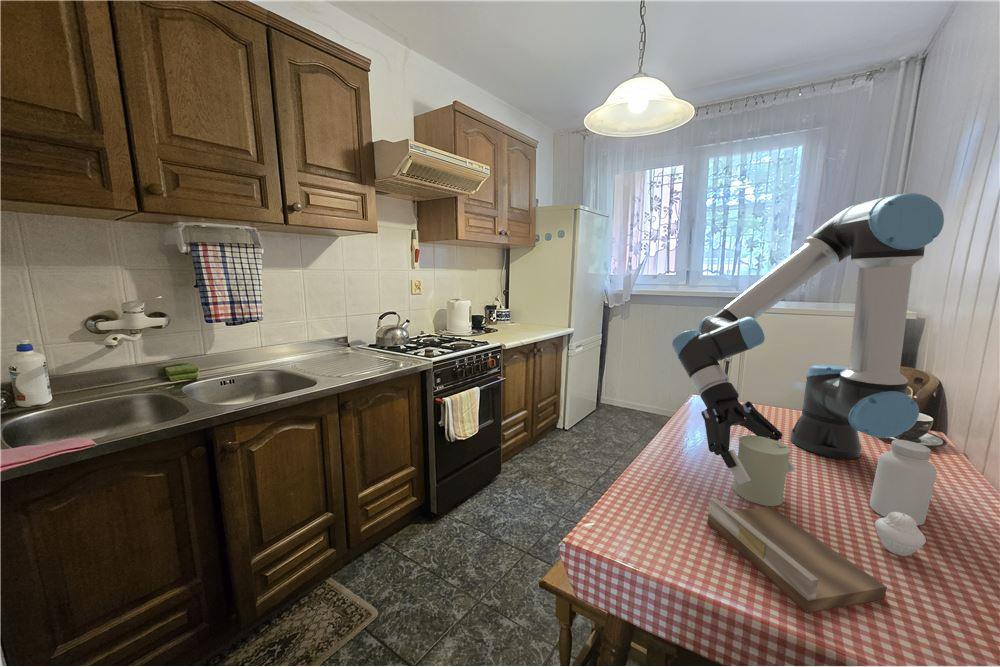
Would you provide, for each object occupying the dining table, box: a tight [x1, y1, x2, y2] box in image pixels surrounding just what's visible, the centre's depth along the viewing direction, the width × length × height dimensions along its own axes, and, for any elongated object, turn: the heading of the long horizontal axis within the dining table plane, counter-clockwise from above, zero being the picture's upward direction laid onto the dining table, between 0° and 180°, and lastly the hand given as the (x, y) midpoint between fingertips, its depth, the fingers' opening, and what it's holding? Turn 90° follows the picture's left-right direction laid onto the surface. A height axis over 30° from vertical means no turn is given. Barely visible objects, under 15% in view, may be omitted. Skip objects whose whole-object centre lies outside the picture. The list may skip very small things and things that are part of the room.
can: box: [732, 435, 791, 507], centre depth 84 cm, size 9×9×12 cm
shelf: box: [707, 497, 888, 614], centre depth 66 cm, size 14×20×5 cm
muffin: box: [874, 512, 927, 557], centre depth 67 cm, size 6×6×7 cm
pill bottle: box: [869, 439, 937, 527], centre depth 77 cm, size 8×8×15 cm
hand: (768, 477), depth 82 cm, fingers open, 13 cm apart
